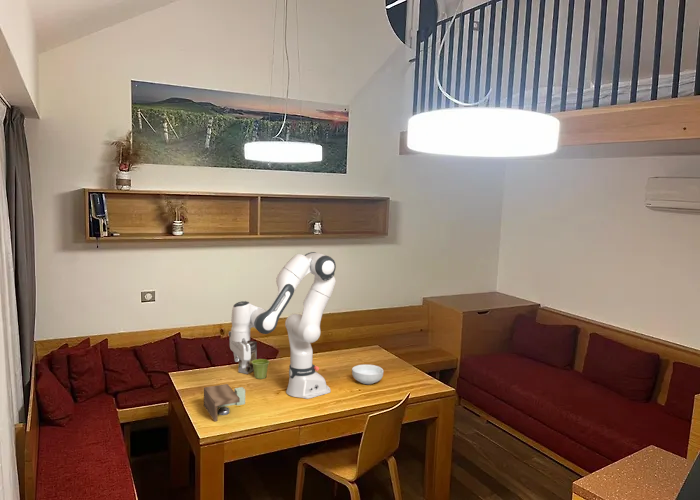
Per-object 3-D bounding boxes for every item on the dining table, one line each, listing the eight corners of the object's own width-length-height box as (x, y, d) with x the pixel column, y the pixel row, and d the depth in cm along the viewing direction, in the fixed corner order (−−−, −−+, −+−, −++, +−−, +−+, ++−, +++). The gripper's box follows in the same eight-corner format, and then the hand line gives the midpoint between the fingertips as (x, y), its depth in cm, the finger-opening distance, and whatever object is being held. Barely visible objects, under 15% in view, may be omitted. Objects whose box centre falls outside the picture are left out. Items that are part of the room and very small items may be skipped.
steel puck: (227, 410, 256) (227, 406, 256) (230, 414, 252) (230, 410, 251) (216, 412, 253) (216, 408, 253) (219, 416, 249) (220, 412, 249)
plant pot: (248, 376, 299) (248, 360, 298) (263, 372, 305) (263, 357, 304) (257, 381, 292) (257, 365, 291) (272, 377, 298) (272, 362, 297)
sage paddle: (242, 401, 267) (242, 387, 266) (245, 404, 263) (245, 389, 262) (209, 406, 259) (209, 392, 258) (211, 409, 255) (211, 395, 254)
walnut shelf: (227, 402, 265) (227, 384, 263) (239, 416, 249) (239, 397, 248) (203, 406, 259) (203, 387, 258) (214, 421, 243) (214, 402, 242)
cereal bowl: (387, 379, 302) (388, 367, 302) (375, 389, 287) (376, 376, 287) (359, 374, 309) (359, 362, 309) (346, 383, 294) (346, 370, 294)
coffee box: (248, 374, 302) (248, 345, 300) (238, 372, 304) (238, 344, 302) (256, 369, 311) (257, 341, 308) (247, 367, 313) (247, 339, 311)
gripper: (254, 341, 252) (253, 370, 254) (240, 329, 270) (239, 357, 271) (241, 342, 249) (240, 372, 251) (227, 331, 267) (226, 358, 268)
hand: (239, 364), depth 261 cm, fingers open, 8 cm apart
